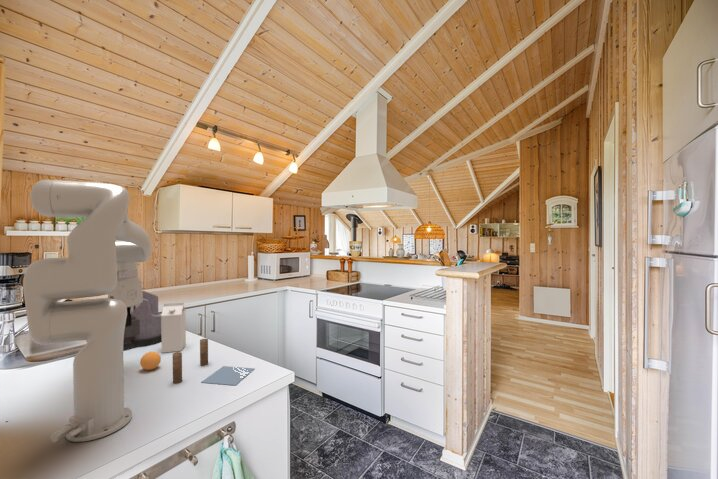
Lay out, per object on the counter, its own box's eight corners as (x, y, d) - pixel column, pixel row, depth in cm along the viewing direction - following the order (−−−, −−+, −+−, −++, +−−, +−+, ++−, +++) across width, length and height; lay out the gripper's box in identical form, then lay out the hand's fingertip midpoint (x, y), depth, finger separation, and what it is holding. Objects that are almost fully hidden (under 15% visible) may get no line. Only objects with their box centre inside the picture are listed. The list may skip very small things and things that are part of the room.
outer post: (205, 366, 111) (204, 341, 111) (198, 365, 112) (198, 340, 111) (209, 363, 114) (209, 338, 114) (203, 362, 114) (203, 338, 114)
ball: (151, 373, 105) (151, 356, 105) (135, 372, 106) (135, 354, 106) (165, 366, 111) (164, 349, 111) (150, 364, 112) (150, 348, 112)
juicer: (160, 332, 149) (159, 281, 149) (176, 338, 140) (176, 284, 140) (79, 352, 125) (77, 291, 124) (92, 361, 116) (91, 296, 115)
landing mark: (235, 385, 97) (235, 385, 97) (201, 382, 99) (201, 382, 99) (254, 369, 109) (254, 368, 109) (223, 366, 111) (223, 366, 111)
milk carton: (166, 346, 130) (166, 301, 129) (185, 345, 132) (185, 300, 132) (161, 353, 123) (160, 305, 123) (181, 351, 125) (181, 304, 125)
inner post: (178, 383, 98) (177, 355, 98) (170, 383, 99) (170, 355, 98) (184, 379, 101) (183, 352, 101) (176, 379, 101) (176, 352, 101)
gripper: (113, 278, 102) (115, 333, 102) (151, 272, 117) (152, 320, 117) (94, 277, 103) (95, 332, 104) (134, 271, 118) (135, 319, 118)
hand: (125, 325), depth 110 cm, fingers closed
